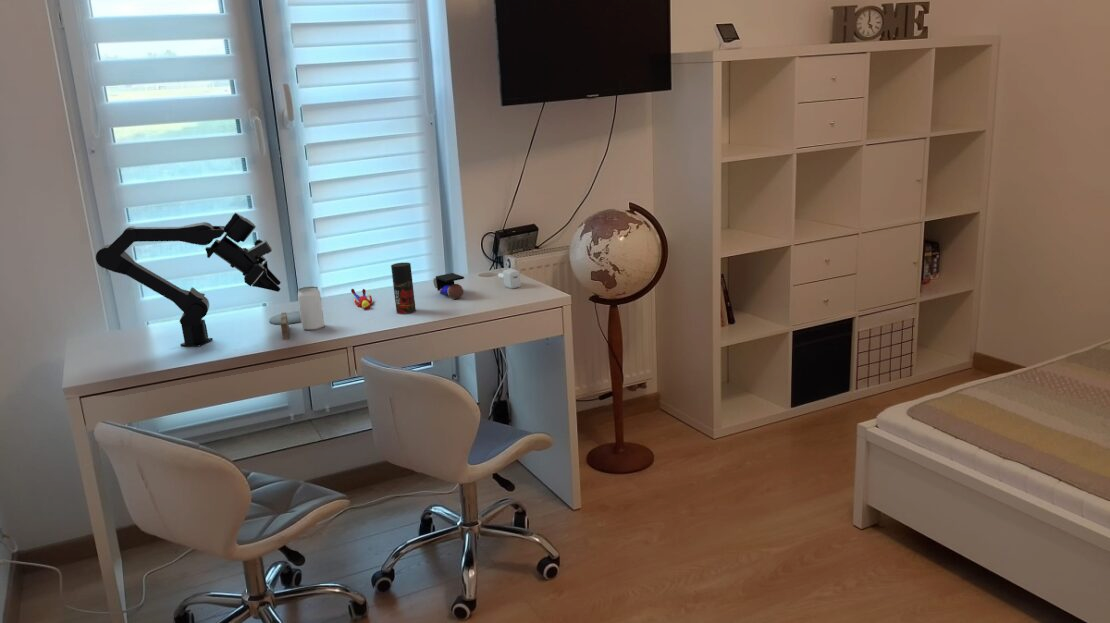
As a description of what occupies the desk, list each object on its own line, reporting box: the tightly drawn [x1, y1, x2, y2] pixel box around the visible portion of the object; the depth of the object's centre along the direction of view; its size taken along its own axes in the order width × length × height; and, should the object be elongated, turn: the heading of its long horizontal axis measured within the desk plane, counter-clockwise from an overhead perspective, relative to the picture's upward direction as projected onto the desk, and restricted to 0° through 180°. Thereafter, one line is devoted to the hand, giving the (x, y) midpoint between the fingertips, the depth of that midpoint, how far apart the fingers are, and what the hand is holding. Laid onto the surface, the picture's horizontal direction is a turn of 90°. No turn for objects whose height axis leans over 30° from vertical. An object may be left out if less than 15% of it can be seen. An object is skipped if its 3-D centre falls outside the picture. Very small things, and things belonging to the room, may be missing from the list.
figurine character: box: [432, 272, 465, 300], centre depth 281 cm, size 7×8×15 cm
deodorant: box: [390, 262, 416, 315], centre depth 263 cm, size 6×6×15 cm
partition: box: [280, 311, 290, 340], centre depth 249 cm, size 14×2×4 cm, turn 17°
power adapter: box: [495, 268, 521, 290], centre depth 289 cm, size 11×5×6 cm, turn 32°
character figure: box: [350, 288, 373, 311], centre depth 279 cm, size 6×4×20 cm
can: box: [297, 285, 325, 331], centre depth 252 cm, size 6×6×12 cm
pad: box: [268, 310, 302, 326], centre depth 266 cm, size 13×13×1 cm
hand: (279, 287), depth 248 cm, fingers open, 9 cm apart
